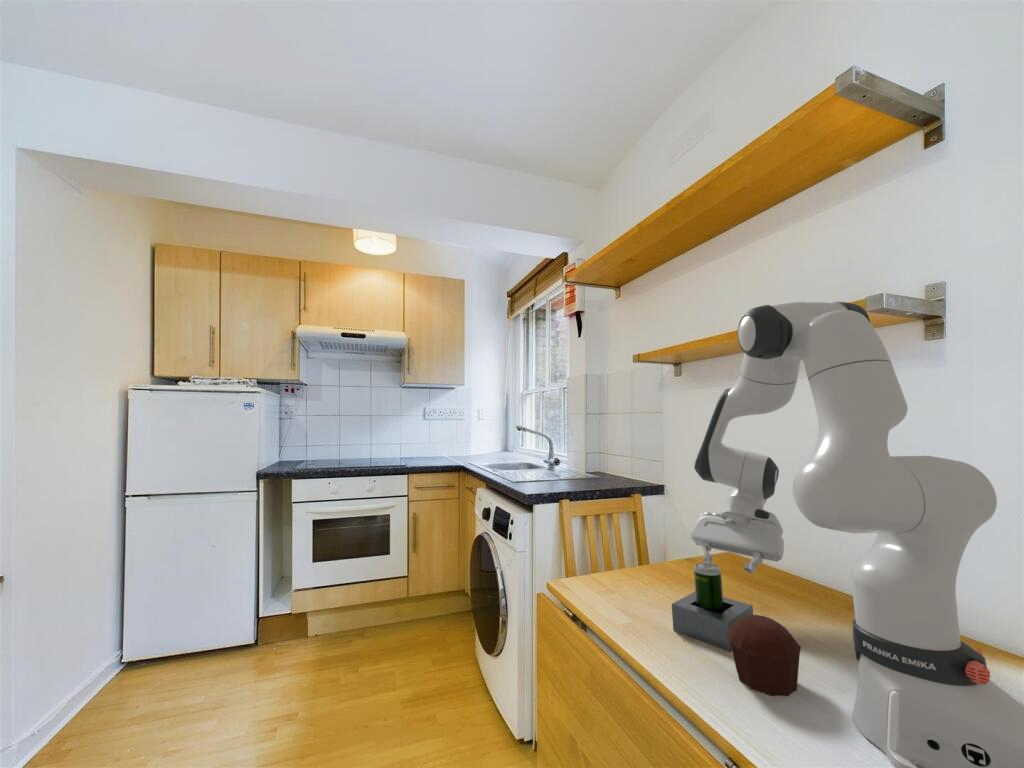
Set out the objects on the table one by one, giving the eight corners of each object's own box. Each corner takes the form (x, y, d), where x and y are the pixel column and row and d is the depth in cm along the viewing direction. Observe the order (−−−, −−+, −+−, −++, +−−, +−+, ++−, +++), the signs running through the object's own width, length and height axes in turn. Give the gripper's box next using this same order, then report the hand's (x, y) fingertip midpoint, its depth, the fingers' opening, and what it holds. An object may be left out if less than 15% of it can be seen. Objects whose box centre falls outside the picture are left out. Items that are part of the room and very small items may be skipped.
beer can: (720, 632, 86) (716, 572, 87) (694, 625, 89) (690, 567, 91) (728, 623, 90) (723, 565, 91) (702, 616, 93) (698, 561, 95)
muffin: (737, 655, 80) (732, 601, 81) (807, 676, 73) (801, 616, 74) (722, 686, 70) (718, 624, 72) (801, 712, 64) (794, 643, 65)
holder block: (754, 632, 88) (752, 605, 89) (730, 652, 81) (728, 622, 82) (699, 614, 98) (698, 589, 98) (673, 630, 90) (671, 603, 91)
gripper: (695, 504, 111) (679, 549, 103) (782, 515, 95) (770, 569, 88) (704, 518, 113) (689, 563, 106) (790, 532, 97) (779, 586, 90)
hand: (726, 566), depth 97 cm, fingers open, 8 cm apart
